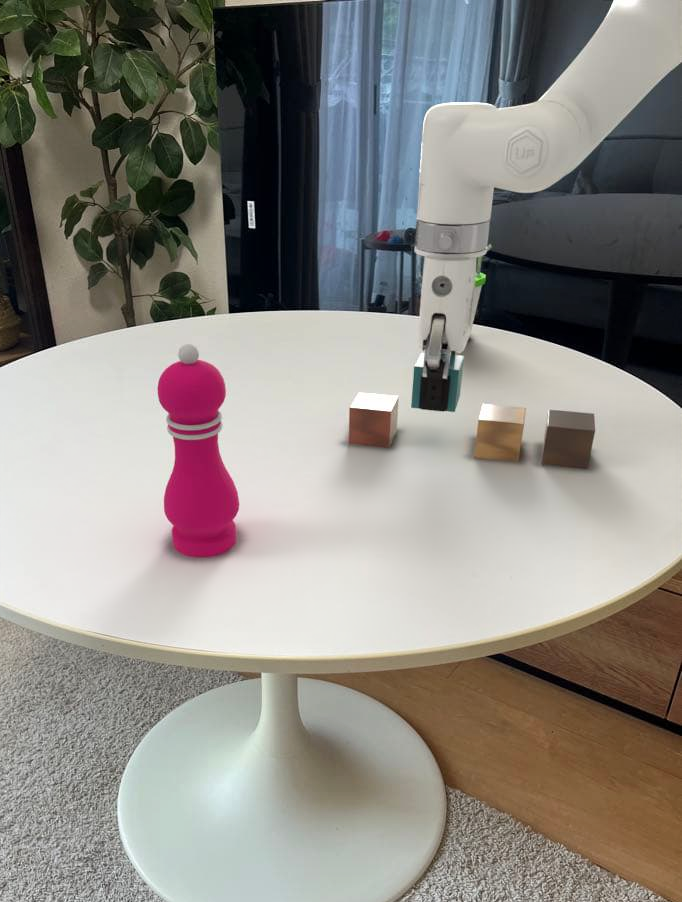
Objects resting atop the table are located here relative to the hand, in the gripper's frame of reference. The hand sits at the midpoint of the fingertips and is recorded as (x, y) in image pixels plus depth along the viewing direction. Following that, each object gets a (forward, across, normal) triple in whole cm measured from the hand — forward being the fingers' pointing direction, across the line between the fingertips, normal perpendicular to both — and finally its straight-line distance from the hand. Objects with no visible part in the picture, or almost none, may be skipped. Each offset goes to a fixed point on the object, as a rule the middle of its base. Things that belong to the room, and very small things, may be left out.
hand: (436, 398), depth 92 cm
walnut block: (+6, 0, -15) cm, 16 cm away
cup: (+6, +42, +2) cm, 43 cm away
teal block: (0, 0, 0) cm, 0 cm away
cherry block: (+6, 0, +7) cm, 10 cm away
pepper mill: (+6, -28, +18) cm, 34 cm away
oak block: (+6, 0, -8) cm, 10 cm away
